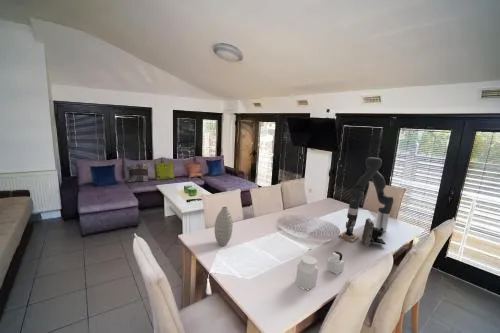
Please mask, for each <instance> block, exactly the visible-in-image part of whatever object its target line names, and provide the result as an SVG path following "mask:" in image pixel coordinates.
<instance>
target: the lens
mask: <svg viewBox="0 0 500 333" xmlns="http://www.w3.org/2000/svg"><path fill="white" fill-rule="evenodd" d="M349 227H350V226H349ZM354 227H355V226H354V224H352V227H351V228H350V233H347V229H346V230H345V231H346V234H347V235H349V236H352V234H353V233H354Z"/></svg>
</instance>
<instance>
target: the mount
mask: <svg viewBox="0 0 500 333" xmlns="http://www.w3.org/2000/svg"><path fill="white" fill-rule="evenodd" d="M338 235H339V234H338ZM338 238H341V239H343V240H345V241H348V242H349V243H352V244H353V243H354V242H356V241H358V240H359V239H360V237H359V236H357V235H355V233H354V232H353V234H352V236H349V235H347V234H346V230H345V231H343V232H342V233H340V235H339V237H338Z"/></svg>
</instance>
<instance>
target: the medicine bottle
mask: <svg viewBox="0 0 500 333" xmlns="http://www.w3.org/2000/svg"><path fill="white" fill-rule="evenodd" d="M343 256H344V255H343V253H342V252H340V251H336V250H334V251H332V252H331V257H330V258H328V260H327V261H328V262H327V268H326V269H327V270H328V271H329V270H330V271H329V272H331V271H332V272H331V273H333V274H334V273H335V275H336V274H337V275H339V274H341V273H343V271H344V265H345V261H344V260H343ZM340 272H341V273H340Z"/></svg>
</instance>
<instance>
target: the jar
mask: <svg viewBox="0 0 500 333" xmlns="http://www.w3.org/2000/svg"><path fill="white" fill-rule="evenodd" d="M296 269H297V270H296V276H295V284H296V283H297V284H298V285H299V286H300V287H302V288H304V289H303V290H305V289H310V288H311V287H312V286H314V287H316V286H317V282H318V281H317V279H318V273H319V268H318V266H317V260H316V258H315V257H313V256H311V255H303V256H301V260H300V261H299V262H298V264H297V268H296ZM297 284H296V285H297ZM298 285H297V286H298ZM315 285H316V286H315ZM299 286H298V287H299ZM300 287H299V288H300ZM302 288H301V289H302ZM312 288H313V287H312ZM312 288H311V289H312ZM311 289H310V290H311Z"/></svg>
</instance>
